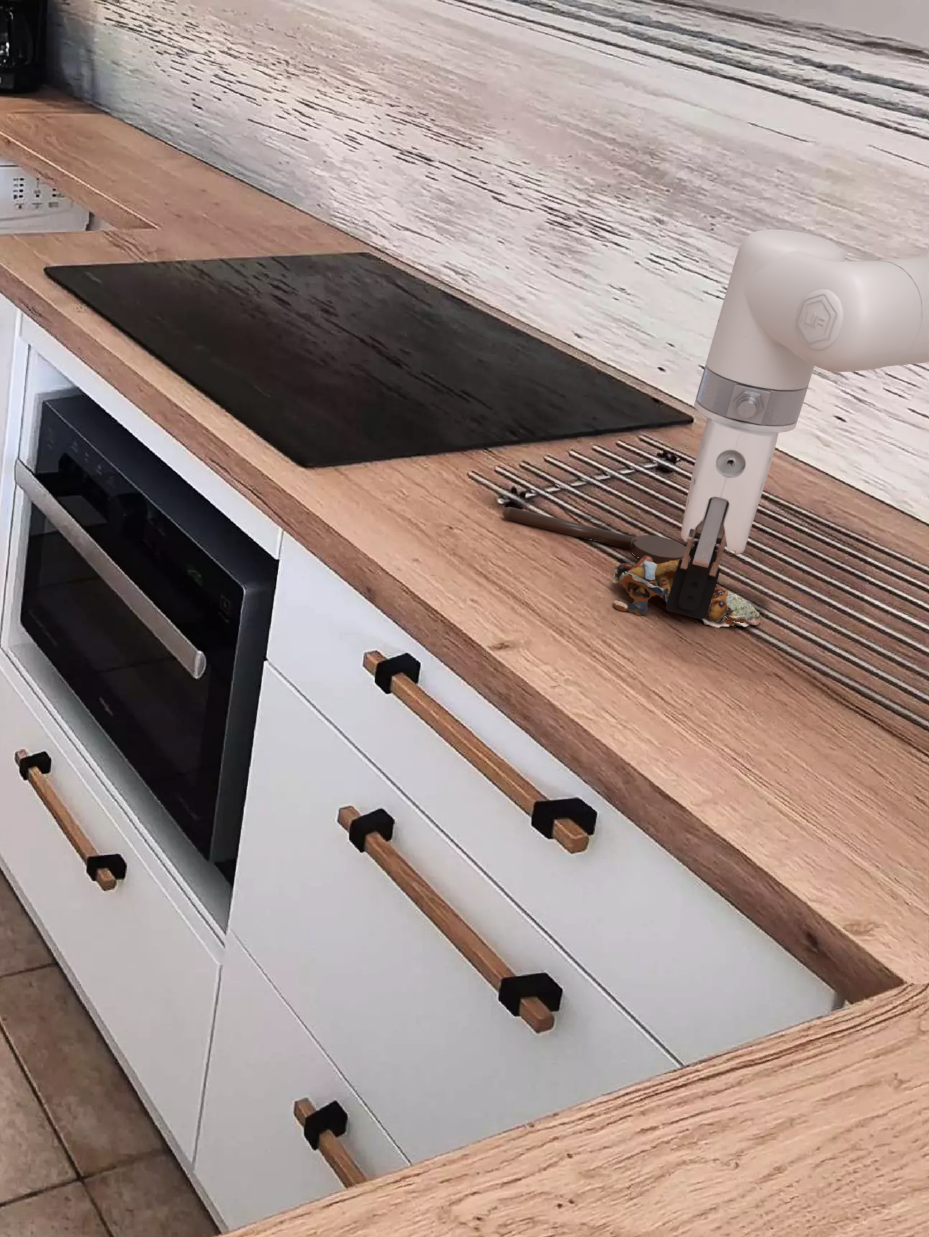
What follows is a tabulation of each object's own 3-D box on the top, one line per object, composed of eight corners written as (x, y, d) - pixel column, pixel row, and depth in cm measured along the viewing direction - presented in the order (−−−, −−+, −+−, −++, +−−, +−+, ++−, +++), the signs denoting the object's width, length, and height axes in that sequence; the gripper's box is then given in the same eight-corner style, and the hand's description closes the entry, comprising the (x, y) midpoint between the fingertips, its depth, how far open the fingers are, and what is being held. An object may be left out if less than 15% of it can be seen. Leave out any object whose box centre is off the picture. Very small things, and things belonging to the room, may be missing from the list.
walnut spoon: (688, 553, 152) (691, 541, 151) (682, 572, 148) (685, 560, 147) (506, 509, 157) (509, 497, 157) (496, 526, 153) (498, 514, 153)
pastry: (763, 637, 138) (775, 597, 136) (612, 611, 139) (623, 571, 138) (750, 601, 144) (762, 563, 142) (606, 577, 146) (617, 539, 144)
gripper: (796, 437, 121) (725, 660, 130) (805, 382, 134) (740, 590, 142) (689, 413, 124) (626, 635, 132) (708, 362, 136) (649, 567, 145)
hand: (685, 611), depth 137 cm, fingers closed
